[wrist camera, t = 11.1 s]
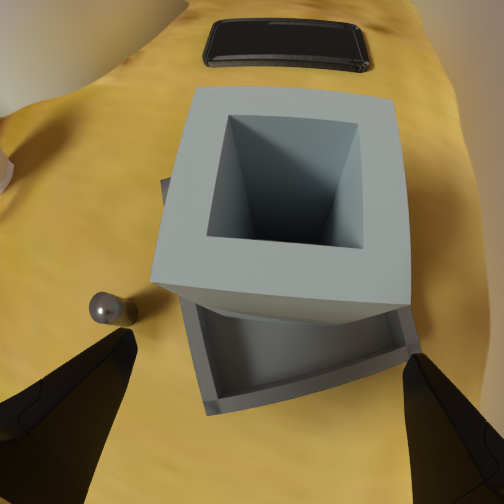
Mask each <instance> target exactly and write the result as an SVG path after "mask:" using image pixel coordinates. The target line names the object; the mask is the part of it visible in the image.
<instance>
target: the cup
mask: <svg viewBox="0 0 504 504" xmlns="http://www.w3.org/2000/svg"><path fill="white" fill-rule="evenodd" d="M13 170H14V164H13V163H12V162H11V161H9V160H8V158H7V156H6V155H5V153H4V152H3V150H2V148H1V147H0V194H2V193H3V192H4V191H5V189H6V187H7V186H8V184H9V182H10V181H11V179H12V176H13Z"/></svg>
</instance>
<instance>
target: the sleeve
mask: <svg viewBox="0 0 504 504" xmlns="http://www.w3.org/2000/svg"><path fill="white" fill-rule="evenodd" d="M257 238H262V239H274V240H286V241H298V242H310V243H318V245H311V244H299V243H287V242H274V241H262V240H257ZM150 282H152V283H154V284H156V285H158V286H160V287H162V288H164V289H166V290H168V291H170V292H173V293H175V294H177V295H179V296H181V297H183V298H185V299H188V300H190V301H192V302H194V303H196V304H198V305H201V306H203V307H205V308H207V309H209V310H212V311H214V312H216V313H218V314H221V315H223V316H225V317H229V318H238V319H247V320H257V321H267V322H277V323H289V324H301V325H314V326H328V327H334V326H338V325H342V324H346V323H350V322H353V321H357V320H361V319H364V318H368V317H371V316H375V315H378V314H382V313H385V312H388V311H392V310H395V309H398V308H402V307H405V306H408V305H411V246H410V226H409V211H408V199H407V189H406V179H405V171H404V163H403V156H402V149H401V143H400V136H399V130H398V125H397V119H396V114H395V109H394V104H393V100H389V99H383V98H378V97H371V96H365V95H358V94H351V93H343V92H335V91H325V90H315V89H302V88H287V87H261V86H220V87H196V90H195V94H194V97H193V100H192V103H191V107H190V110H189V113H188V117H187V120H186V124H185V127H184V131H183V134H182V138H181V141H180V145H179V149H178V153H177V156H176V160H175V164H174V168H173V172H172V176H171V180H170V185H169V189H168V193H167V197H166V202H165V206H164V211H163V215H162V220H161V225H160V230H159V235H158V240H157V245H156V250H155V255H154V261H153V267H152V272H151V278H150Z"/></svg>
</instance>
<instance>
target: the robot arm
mask: <svg viewBox="0 0 504 504" xmlns="http://www.w3.org/2000/svg"><path fill="white" fill-rule="evenodd" d="M137 351H138V347H137V343H136V340H135V337H134V333H133V331H132V330H131V329H128V328H123V327H120V328H118V329H117V330H115V331H114V332H112V333H110V334H109V335H107V336H106V337H104V338H103V339H101V340H100V341H98V342H97V343H95V344H94V345H92V346H91V347H89V348H88V349H86V350H84V351H83V352H81V353H80V354H78V355H77V356H75V357H74V358H72V359H71V360H69V361H68V362H66V363H65V364H63V365H62V366H60V367H59V368H57V369H56V370H54V371H53V372H51V373H50V374H48V375H46V376H45V377H43V379H40V380H39V381H37V382H36V383H34V384H33V385H31V386H30V387H28V388H26V389H25V390H23V391H21V392H20V393H18V394H16V395H14V396H12V397H11V398H9V399H7V400H5V401H3V402H1V403H0V504H84V501H85V498H86V496H87V493H88V490H89V489H88V488H89V486H90V483H91V481H92V478H93V475H94V472H95V469H96V467H97V464H98V461H99V458H100V456H101V453H102V450H103V448H104V445H105V442H106V440H107V437H108V435H109V432H110V429H111V427H112V424H113V422H114V419H115V417H116V414H117V412H118V409H119V407H120V404H121V402H122V400H123V397H124V395H125V392H126V389H127V386H128V383H129V379H130V376H131V372H132V369H133V365H134V362H135V359H136V355H137ZM403 392H404V414H405V424H406V431H407V439H408V448H409V457H410V467H411V479H412V493H413V504H504V439H503V438H502V437H501V436H500V435H499V434H498V433H497V432H496V430H495V429H494V428H493V427H492V426H491V425H490V424H489V423H488V422H486V419H485V418H484V417H483V416H482V415H481V414H480V413H479V411H478V410H477V409H476V408H475V407H474V406H473V405H472V404H471V403H470V401H469V400H468V399H467V398H466V397H465V396H464V395H463V394H462V393H461V392H460V391H459V390H458V388H457V387H456V386H455V385H454V384H453V383H452V382H451V381H450V380H449V379H448V378H447V377H446V376H445V375H444V374H443V373H442V371H441V370H440V369H439V368H438V367H437V366H436V365H435V364H434V363H433V362H432V361H431V360H430V359H429V358H428V357H427V356H426V355H425V354H423V353H414V354H412V355H411V356H410V358H409V360H408V362H407V364H406V366H405V368H404V371H403Z"/></svg>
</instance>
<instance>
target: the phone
mask: <svg viewBox="0 0 504 504" xmlns="http://www.w3.org/2000/svg"><path fill="white" fill-rule="evenodd" d="M202 58H203V62H204V64H205V65H206V66H207V67H214V68H215V67H238V66H279V67H303V68H318V69H329V70H339V71H348V72H356V73H363V72H366V71H367V70H368V67H369V57H368V53H367V50H366V46H365V42H364V39H363V35H362V32H361V29H360V28H359V27H358V26H356V25H354V24H350V23H343V22H335V21H325V20H313V19H296V18H237V19H223V20H219V21H217V22H215V23H214V24H213V25H212V28H211V31H210V34H209V37H208V40H207V43H206V45H205V48H204V51H203V55H202Z"/></svg>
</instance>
